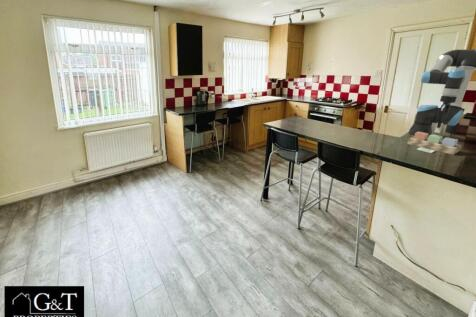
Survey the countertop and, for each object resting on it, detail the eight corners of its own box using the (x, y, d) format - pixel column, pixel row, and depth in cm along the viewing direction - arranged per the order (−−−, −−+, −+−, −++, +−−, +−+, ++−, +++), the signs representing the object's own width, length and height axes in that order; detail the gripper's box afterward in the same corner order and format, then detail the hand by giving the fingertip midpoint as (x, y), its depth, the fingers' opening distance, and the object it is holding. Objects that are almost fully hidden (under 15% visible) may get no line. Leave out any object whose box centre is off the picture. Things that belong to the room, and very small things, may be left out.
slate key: (441, 145, 159) (443, 138, 157) (444, 144, 163) (446, 137, 161) (452, 148, 155) (455, 140, 153) (455, 146, 158) (458, 139, 156)
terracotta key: (413, 139, 171) (415, 132, 169) (416, 138, 174) (418, 131, 173) (423, 141, 167) (425, 134, 165) (426, 140, 170) (428, 133, 168)
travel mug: (458, 133, 203) (467, 109, 196) (449, 133, 203) (457, 109, 196) (451, 131, 210) (459, 107, 203) (442, 130, 210) (450, 107, 203)
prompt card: (416, 149, 160) (417, 148, 160) (420, 148, 164) (420, 146, 163) (431, 153, 154) (431, 151, 154) (434, 151, 158) (435, 150, 157)
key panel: (407, 143, 172) (408, 138, 170) (413, 141, 179) (415, 135, 177) (453, 154, 153) (455, 148, 151) (459, 151, 160) (461, 145, 158)
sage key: (426, 142, 165) (429, 135, 163) (429, 141, 168) (432, 134, 167) (437, 145, 161) (439, 137, 159) (440, 143, 164) (442, 136, 162)
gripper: (453, 96, 147) (440, 135, 155) (460, 95, 154) (447, 132, 163) (438, 95, 152) (426, 132, 161) (445, 94, 160) (433, 129, 168)
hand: (437, 132), depth 162 cm, fingers closed
